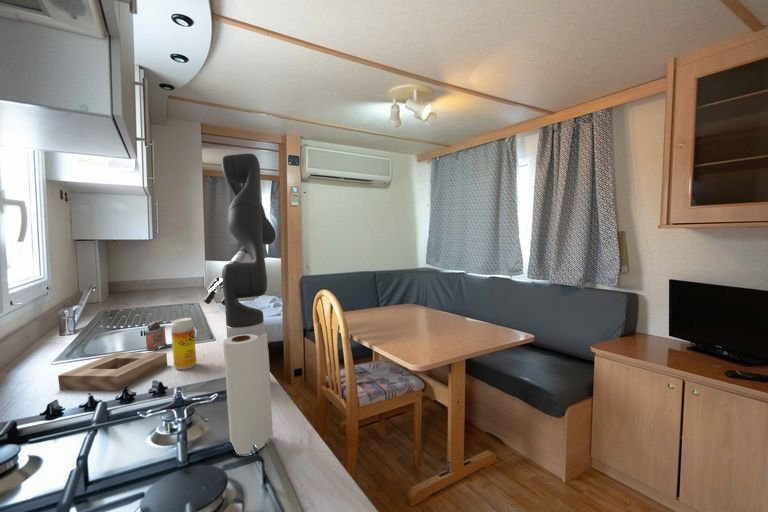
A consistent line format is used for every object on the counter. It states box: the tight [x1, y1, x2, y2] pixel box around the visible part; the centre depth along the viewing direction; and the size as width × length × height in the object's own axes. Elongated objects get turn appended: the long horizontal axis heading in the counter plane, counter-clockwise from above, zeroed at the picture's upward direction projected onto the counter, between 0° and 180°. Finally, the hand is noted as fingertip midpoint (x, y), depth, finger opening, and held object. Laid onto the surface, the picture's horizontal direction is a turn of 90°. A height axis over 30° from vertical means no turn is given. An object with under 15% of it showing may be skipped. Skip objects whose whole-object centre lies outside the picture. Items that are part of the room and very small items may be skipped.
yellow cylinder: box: [170, 317, 197, 371], centre depth 109 cm, size 6×6×15 cm
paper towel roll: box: [222, 332, 274, 455], centre depth 66 cm, size 7×6×21 cm
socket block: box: [57, 352, 168, 392], centre depth 104 cm, size 18×18×4 cm
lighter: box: [144, 319, 167, 352], centre depth 129 cm, size 8×3×10 cm, turn 171°
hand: (214, 303), depth 119 cm, fingers open, 8 cm apart
